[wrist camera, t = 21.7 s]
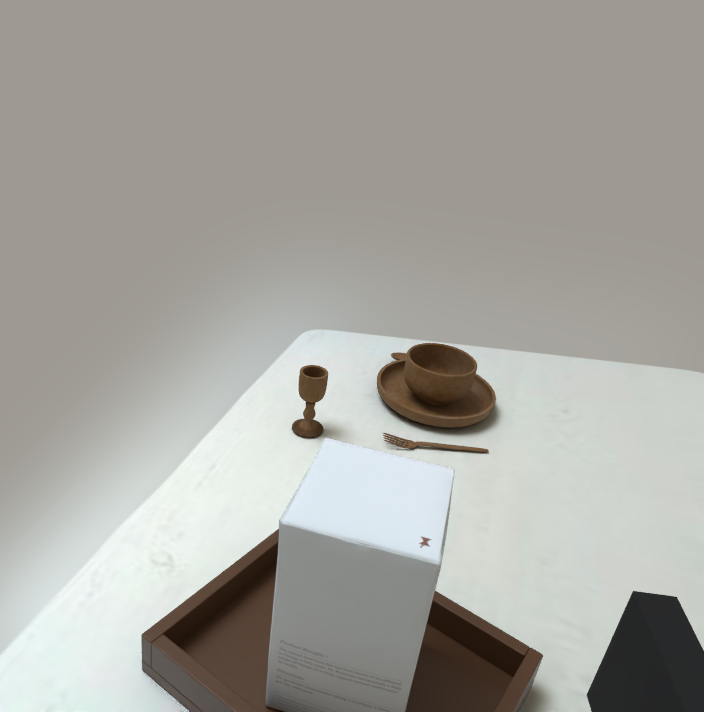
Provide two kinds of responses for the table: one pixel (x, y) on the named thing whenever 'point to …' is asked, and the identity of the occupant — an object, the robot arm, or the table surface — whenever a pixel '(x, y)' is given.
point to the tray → (252, 640)
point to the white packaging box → (355, 580)
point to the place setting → (415, 391)
